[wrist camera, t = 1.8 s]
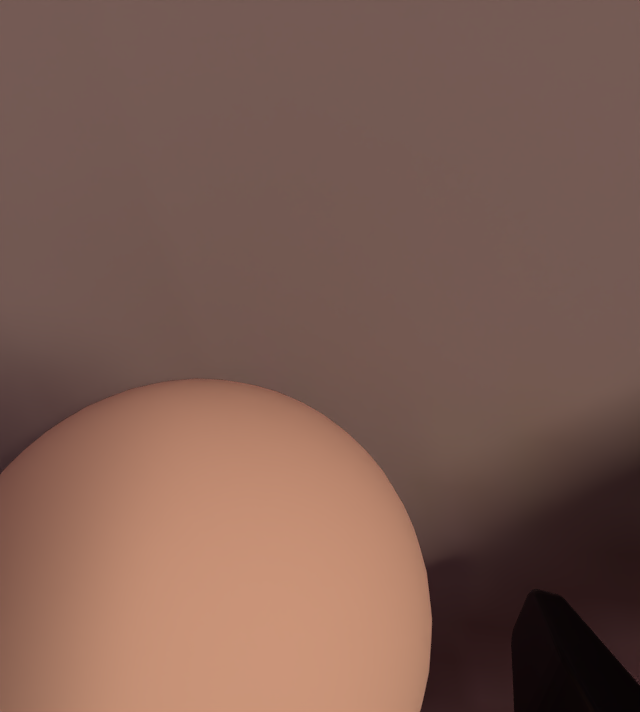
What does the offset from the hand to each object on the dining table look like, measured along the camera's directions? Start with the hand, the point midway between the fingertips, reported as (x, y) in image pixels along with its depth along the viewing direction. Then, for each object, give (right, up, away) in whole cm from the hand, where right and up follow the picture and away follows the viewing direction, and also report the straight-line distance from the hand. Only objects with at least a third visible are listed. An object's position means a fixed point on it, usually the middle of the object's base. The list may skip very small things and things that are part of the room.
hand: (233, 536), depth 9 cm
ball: (0, +1, +1) cm, 2 cm away
